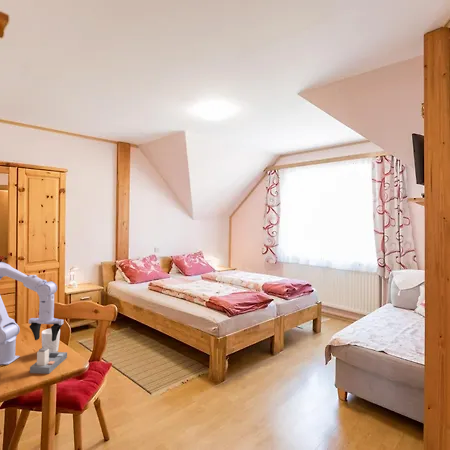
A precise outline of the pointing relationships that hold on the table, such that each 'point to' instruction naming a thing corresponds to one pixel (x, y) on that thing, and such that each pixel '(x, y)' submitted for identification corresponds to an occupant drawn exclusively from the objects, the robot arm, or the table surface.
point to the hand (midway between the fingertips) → (45, 339)
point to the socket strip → (54, 361)
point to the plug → (43, 357)
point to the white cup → (50, 340)
